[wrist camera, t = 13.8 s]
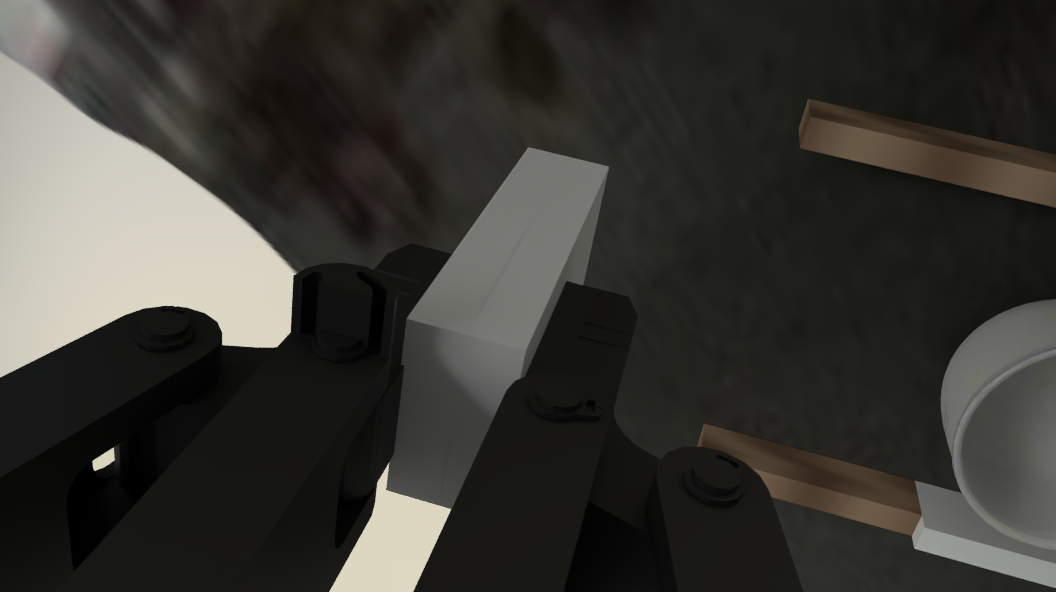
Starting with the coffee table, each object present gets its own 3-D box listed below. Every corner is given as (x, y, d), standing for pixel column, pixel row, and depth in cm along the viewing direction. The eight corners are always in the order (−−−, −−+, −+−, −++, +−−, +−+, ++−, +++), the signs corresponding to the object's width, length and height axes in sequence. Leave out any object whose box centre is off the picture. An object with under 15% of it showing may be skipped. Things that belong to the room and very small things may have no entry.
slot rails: (697, 443, 55) (694, 475, 53) (808, 98, 45) (810, 116, 43) (905, 500, 54) (911, 535, 51) (1068, 157, 44) (1086, 180, 41)
